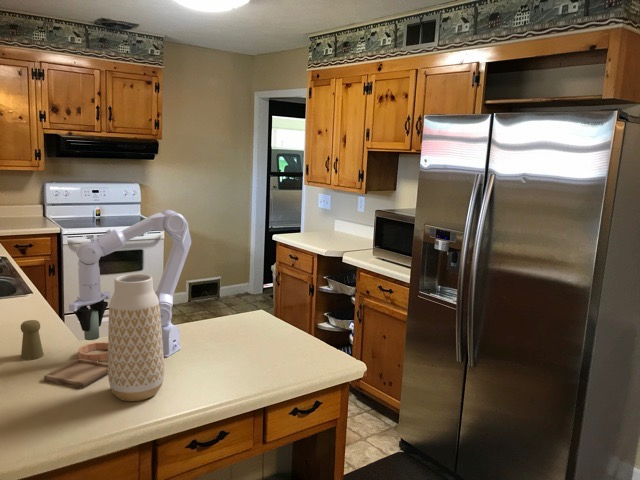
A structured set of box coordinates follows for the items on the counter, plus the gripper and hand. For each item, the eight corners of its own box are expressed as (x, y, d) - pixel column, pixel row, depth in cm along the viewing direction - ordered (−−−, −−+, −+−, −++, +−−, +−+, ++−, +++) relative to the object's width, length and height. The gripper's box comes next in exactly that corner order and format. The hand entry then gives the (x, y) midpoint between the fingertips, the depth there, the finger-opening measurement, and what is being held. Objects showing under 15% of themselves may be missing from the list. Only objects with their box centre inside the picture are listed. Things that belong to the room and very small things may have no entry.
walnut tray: (116, 369, 154) (116, 364, 154) (83, 388, 142) (83, 383, 142) (79, 363, 158) (79, 358, 158) (44, 380, 146) (43, 375, 146)
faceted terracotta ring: (123, 351, 168) (123, 344, 168) (99, 364, 158) (99, 356, 158) (95, 346, 171) (95, 340, 171) (70, 358, 161) (70, 351, 161)
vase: (110, 409, 131) (105, 286, 126) (107, 386, 144) (103, 273, 139) (168, 400, 137) (165, 282, 132) (161, 378, 149) (158, 270, 144)
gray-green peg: (102, 336, 160) (101, 310, 159) (92, 341, 157) (91, 314, 155) (91, 334, 162) (90, 309, 160) (81, 339, 158) (80, 312, 157)
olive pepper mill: (34, 361, 159) (31, 325, 157) (16, 359, 160) (13, 323, 158) (48, 353, 165) (46, 318, 163) (30, 351, 166) (28, 317, 164)
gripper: (96, 276, 164) (98, 319, 167) (59, 287, 151) (61, 334, 153) (115, 279, 162) (116, 322, 165) (79, 290, 149) (81, 337, 151)
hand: (91, 328), depth 159 cm, fingers closed on gray-green peg, 4 cm apart
